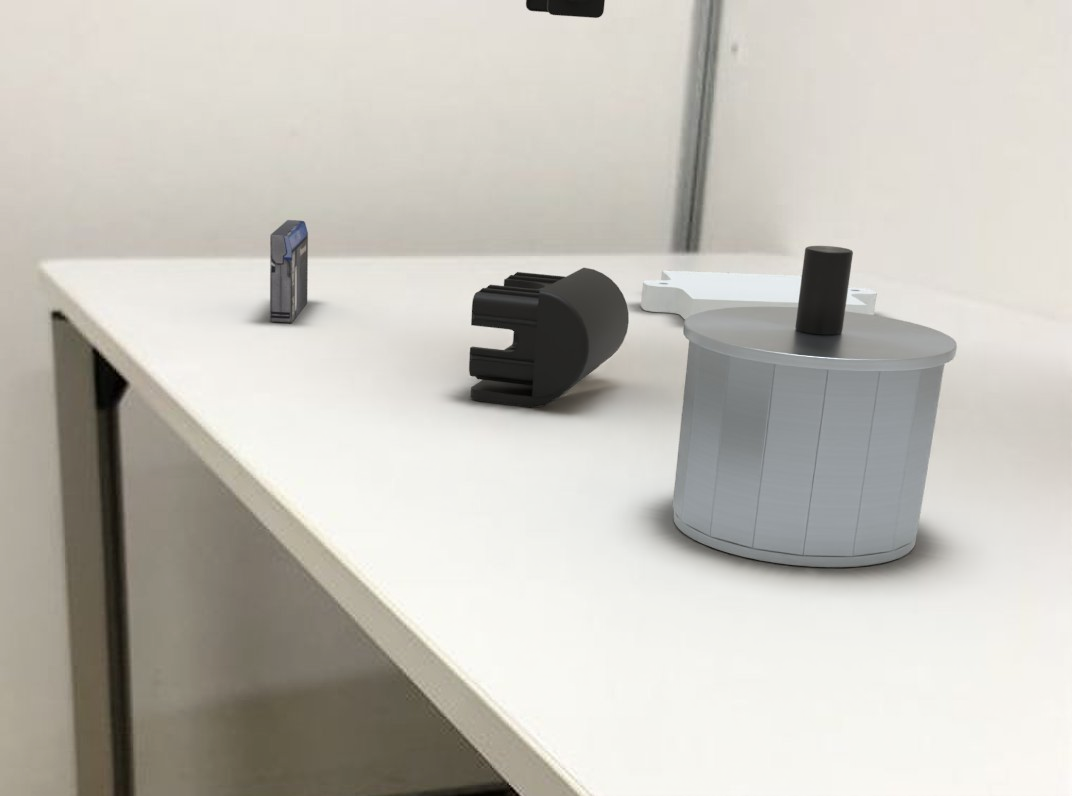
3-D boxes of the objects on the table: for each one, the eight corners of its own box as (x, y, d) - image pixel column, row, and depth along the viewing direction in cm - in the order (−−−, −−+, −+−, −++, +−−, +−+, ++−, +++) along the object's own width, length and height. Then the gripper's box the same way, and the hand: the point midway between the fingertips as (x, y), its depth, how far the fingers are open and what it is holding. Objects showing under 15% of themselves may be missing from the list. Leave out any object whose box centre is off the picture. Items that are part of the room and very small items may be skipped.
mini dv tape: (291, 323, 113) (292, 235, 111) (270, 322, 113) (270, 234, 111) (307, 302, 121) (308, 220, 119) (287, 301, 121) (287, 219, 119)
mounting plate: (847, 301, 132) (850, 277, 131) (896, 332, 120) (900, 306, 119) (628, 293, 131) (630, 269, 130) (656, 324, 119) (658, 297, 118)
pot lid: (901, 333, 76) (916, 234, 75) (994, 390, 66) (1014, 275, 64) (659, 326, 76) (668, 225, 74) (713, 382, 65) (726, 266, 63)
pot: (871, 496, 79) (897, 322, 76) (950, 570, 69) (984, 373, 66) (653, 491, 78) (670, 315, 75) (700, 565, 68) (722, 365, 65)
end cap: (583, 416, 92) (592, 296, 89) (464, 401, 94) (470, 283, 91) (624, 381, 100) (634, 271, 98) (515, 369, 102) (521, 260, 100)
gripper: (690, -336, 82) (652, 22, 89) (628, -286, 98) (600, 14, 105) (544, -349, 82) (517, 13, 88) (506, -296, 98) (485, 7, 104)
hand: (562, 14), depth 97 cm, fingers open, 9 cm apart
